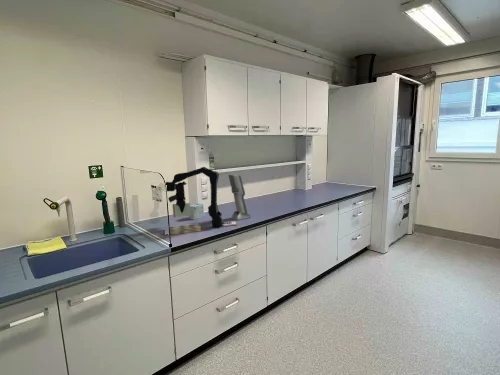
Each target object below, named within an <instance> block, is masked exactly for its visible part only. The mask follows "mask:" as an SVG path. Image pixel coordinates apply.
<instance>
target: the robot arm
mask: <svg viewBox="0 0 500 375" xmlns="http://www.w3.org/2000/svg"><path fill="white" fill-rule="evenodd" d="M200 174H203V175H204V176H206V177H208V178H209V182H210V204H209V206H208V207H207V210H208V211H207V213H208V216H209V217H211V219H212V220H211V227H210V228H215V229H216V228H217V229H219V228H221V227H223V226H224V224H223V219H222V215H223V214H222V212H220V210H219V206H218V182H219V179H220V178H219V177H220V173H219V172H218V171H216V170H212V169H210V168H208V167H206V166H202V167H200V168H196V169H194V170H190V171H187V172H180V173H177V174H174V176H173V180H172V181H166V185H167V191H166V192H175V194H173V195H171V196H169V197H168V198H167V199H168V201H169V203H173V202H174V201H175V204H176V205H178V206H179V207H180V211H181V213H183V210H184V207H185V205H186V203H187V202H186V196H185V195H186V194H185V193H186V192H185V186H186V185H187V184H188V183H187V182H186V181H185V180H186V179H188V178H190V177H194V176H197V175H200Z"/></svg>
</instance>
